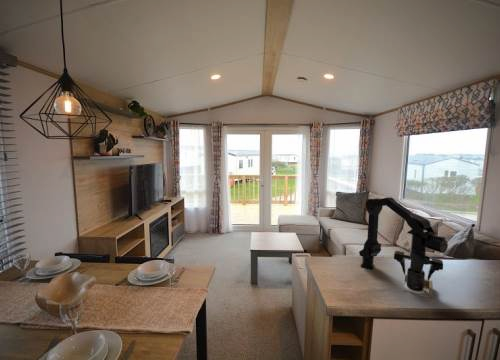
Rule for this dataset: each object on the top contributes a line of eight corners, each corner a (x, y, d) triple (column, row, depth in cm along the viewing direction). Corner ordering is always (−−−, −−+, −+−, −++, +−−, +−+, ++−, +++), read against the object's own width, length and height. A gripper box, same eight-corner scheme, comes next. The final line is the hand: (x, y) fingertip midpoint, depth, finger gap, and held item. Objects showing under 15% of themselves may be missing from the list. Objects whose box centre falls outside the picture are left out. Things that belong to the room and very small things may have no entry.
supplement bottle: (405, 282, 120) (407, 259, 118) (421, 286, 117) (423, 262, 116) (407, 289, 113) (409, 265, 112) (425, 293, 111) (427, 268, 109)
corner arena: (404, 280, 123) (405, 274, 123) (431, 288, 116) (432, 281, 116) (403, 290, 114) (403, 283, 114) (432, 298, 108) (433, 291, 107)
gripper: (393, 245, 112) (391, 277, 113) (445, 255, 101) (442, 291, 102) (396, 239, 121) (393, 269, 122) (443, 247, 110) (440, 280, 111)
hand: (416, 277), depth 114 cm, fingers open, 9 cm apart
